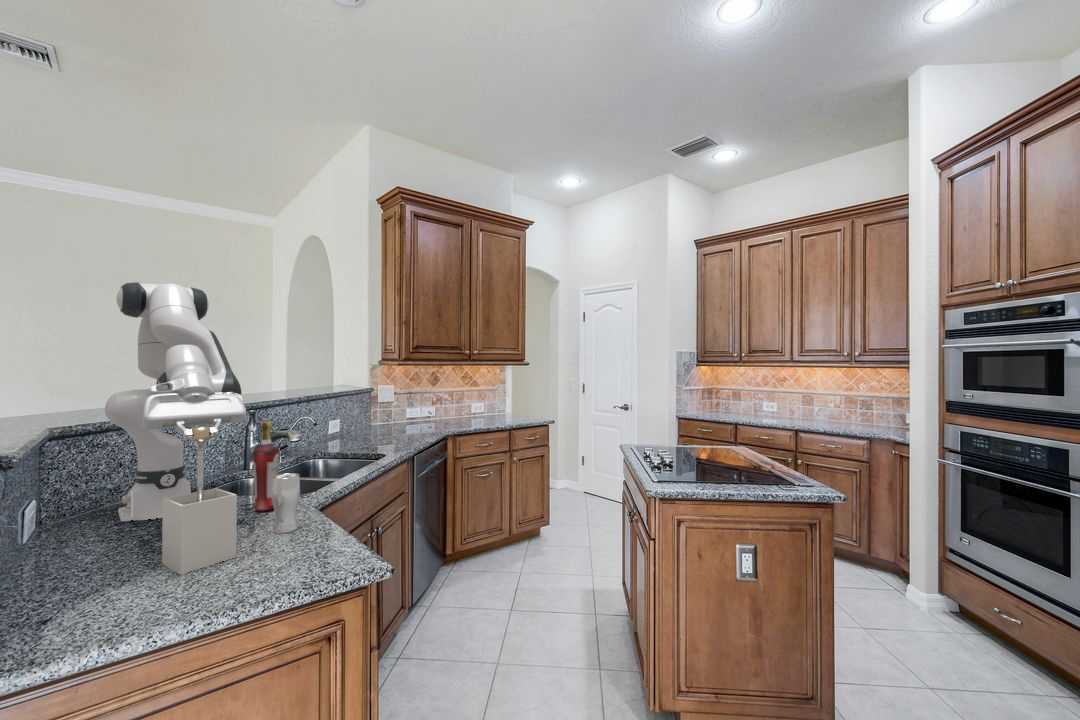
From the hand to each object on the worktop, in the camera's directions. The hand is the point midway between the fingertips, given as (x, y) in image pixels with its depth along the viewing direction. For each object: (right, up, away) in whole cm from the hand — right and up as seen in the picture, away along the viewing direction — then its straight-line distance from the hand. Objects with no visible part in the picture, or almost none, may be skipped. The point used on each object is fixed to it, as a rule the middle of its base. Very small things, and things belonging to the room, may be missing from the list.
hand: (201, 436), depth 108 cm
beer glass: (+9, -30, +20) cm, 37 cm away
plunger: (0, -17, 0) cm, 17 cm away
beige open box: (0, -29, 0) cm, 29 cm away
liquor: (-8, -30, +39) cm, 50 cm away
